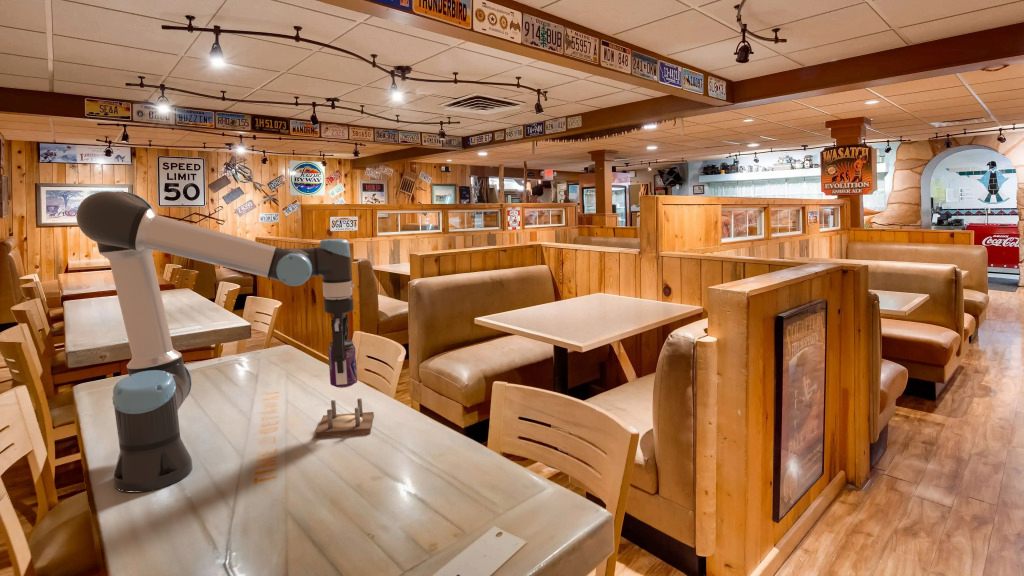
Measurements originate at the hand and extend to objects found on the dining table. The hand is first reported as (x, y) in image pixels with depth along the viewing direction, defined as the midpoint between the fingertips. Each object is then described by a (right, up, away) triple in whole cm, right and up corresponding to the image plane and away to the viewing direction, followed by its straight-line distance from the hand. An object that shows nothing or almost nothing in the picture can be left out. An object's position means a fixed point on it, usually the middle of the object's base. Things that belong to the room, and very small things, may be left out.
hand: (343, 379), depth 153 cm
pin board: (0, -14, +2) cm, 14 cm away
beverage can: (0, -2, 0) cm, 2 cm away
